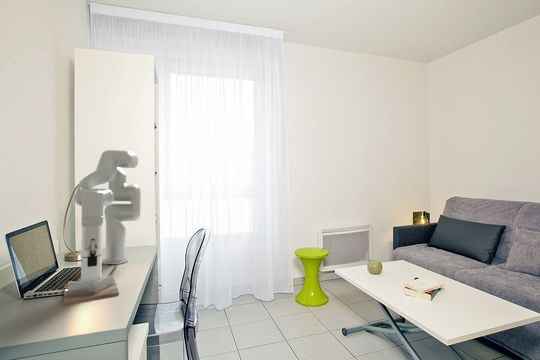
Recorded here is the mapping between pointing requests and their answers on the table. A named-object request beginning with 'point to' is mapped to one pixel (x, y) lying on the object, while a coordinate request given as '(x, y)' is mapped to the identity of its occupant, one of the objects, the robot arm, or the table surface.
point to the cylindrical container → (87, 272)
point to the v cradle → (90, 290)
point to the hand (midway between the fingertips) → (91, 263)
